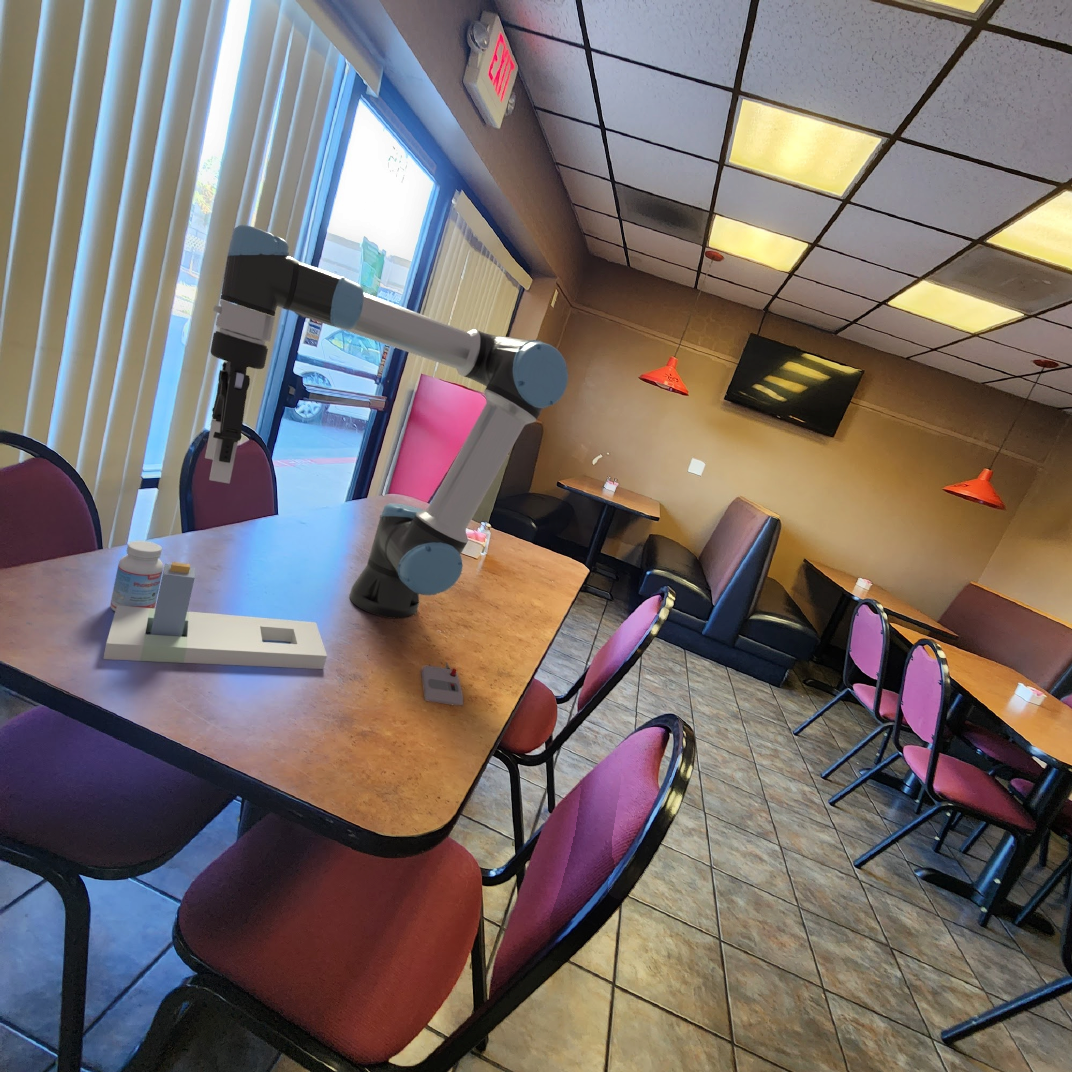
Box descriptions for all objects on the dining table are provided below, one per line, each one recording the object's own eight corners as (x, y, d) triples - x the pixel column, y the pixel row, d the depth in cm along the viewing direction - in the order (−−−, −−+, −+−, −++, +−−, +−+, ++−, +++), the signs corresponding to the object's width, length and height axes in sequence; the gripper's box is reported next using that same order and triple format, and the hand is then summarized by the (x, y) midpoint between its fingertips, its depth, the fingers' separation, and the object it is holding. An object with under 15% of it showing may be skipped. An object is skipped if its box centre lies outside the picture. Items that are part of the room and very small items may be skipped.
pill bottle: (132, 621, 92) (145, 556, 90) (100, 607, 93) (112, 542, 91) (163, 610, 98) (176, 549, 96) (132, 597, 99) (144, 536, 97)
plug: (179, 636, 93) (196, 561, 90) (178, 649, 89) (196, 571, 87) (150, 634, 91) (166, 557, 88) (147, 647, 87) (164, 567, 85)
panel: (312, 634, 107) (315, 622, 107) (323, 669, 97) (327, 655, 97) (114, 619, 91) (117, 605, 91) (103, 659, 81) (106, 643, 81)
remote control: (424, 709, 97) (429, 693, 96) (418, 663, 111) (423, 649, 111) (463, 715, 99) (468, 699, 99) (452, 668, 114) (456, 655, 113)
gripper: (210, 323, 97) (187, 446, 101) (220, 335, 77) (192, 487, 82) (258, 338, 101) (235, 456, 106) (280, 352, 81) (250, 496, 86)
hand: (216, 469), depth 94 cm, fingers open, 13 cm apart
